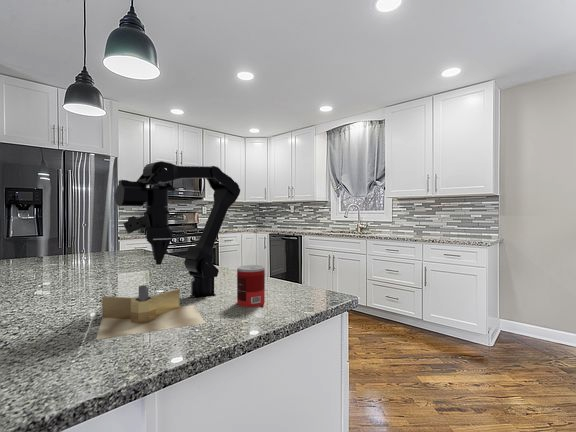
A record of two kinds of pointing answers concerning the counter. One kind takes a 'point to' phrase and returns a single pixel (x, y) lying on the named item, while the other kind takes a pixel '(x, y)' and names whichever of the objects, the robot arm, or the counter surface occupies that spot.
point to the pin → (143, 292)
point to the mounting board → (150, 323)
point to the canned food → (251, 286)
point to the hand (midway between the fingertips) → (157, 262)
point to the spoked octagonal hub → (140, 307)
